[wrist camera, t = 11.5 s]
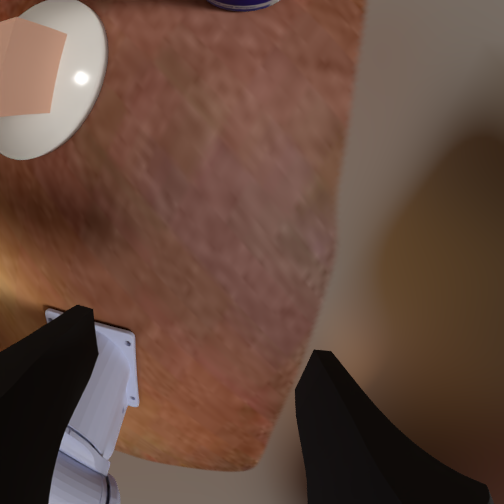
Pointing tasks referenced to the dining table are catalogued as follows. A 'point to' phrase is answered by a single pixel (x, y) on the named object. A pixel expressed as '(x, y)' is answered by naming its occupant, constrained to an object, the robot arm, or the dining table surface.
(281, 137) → the dining table surface
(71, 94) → the saucer
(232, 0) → the energy drink
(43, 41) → the cube
